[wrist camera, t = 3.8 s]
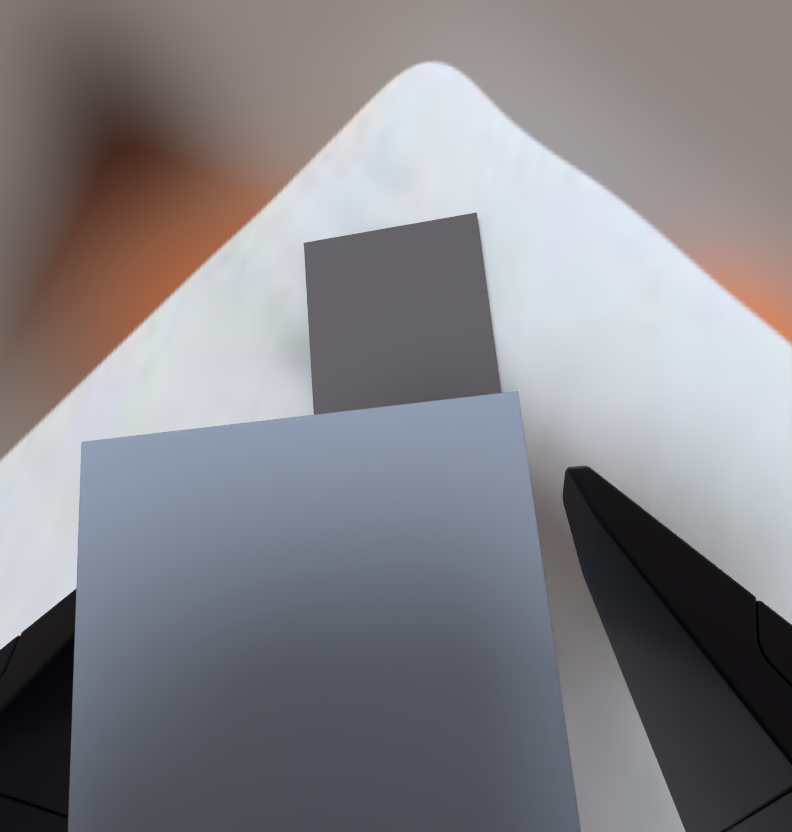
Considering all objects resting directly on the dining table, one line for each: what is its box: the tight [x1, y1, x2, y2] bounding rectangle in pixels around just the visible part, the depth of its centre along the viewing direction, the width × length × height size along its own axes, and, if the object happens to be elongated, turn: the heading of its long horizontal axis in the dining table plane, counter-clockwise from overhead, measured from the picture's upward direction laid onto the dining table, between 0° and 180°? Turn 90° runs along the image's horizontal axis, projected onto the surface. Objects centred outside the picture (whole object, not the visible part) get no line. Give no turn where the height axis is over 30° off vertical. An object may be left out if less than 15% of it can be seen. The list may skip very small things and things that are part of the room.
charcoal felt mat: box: [304, 213, 501, 415], centre depth 18 cm, size 10×8×1 cm
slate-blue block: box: [68, 391, 581, 832], centre depth 9 cm, size 5×5×10 cm
